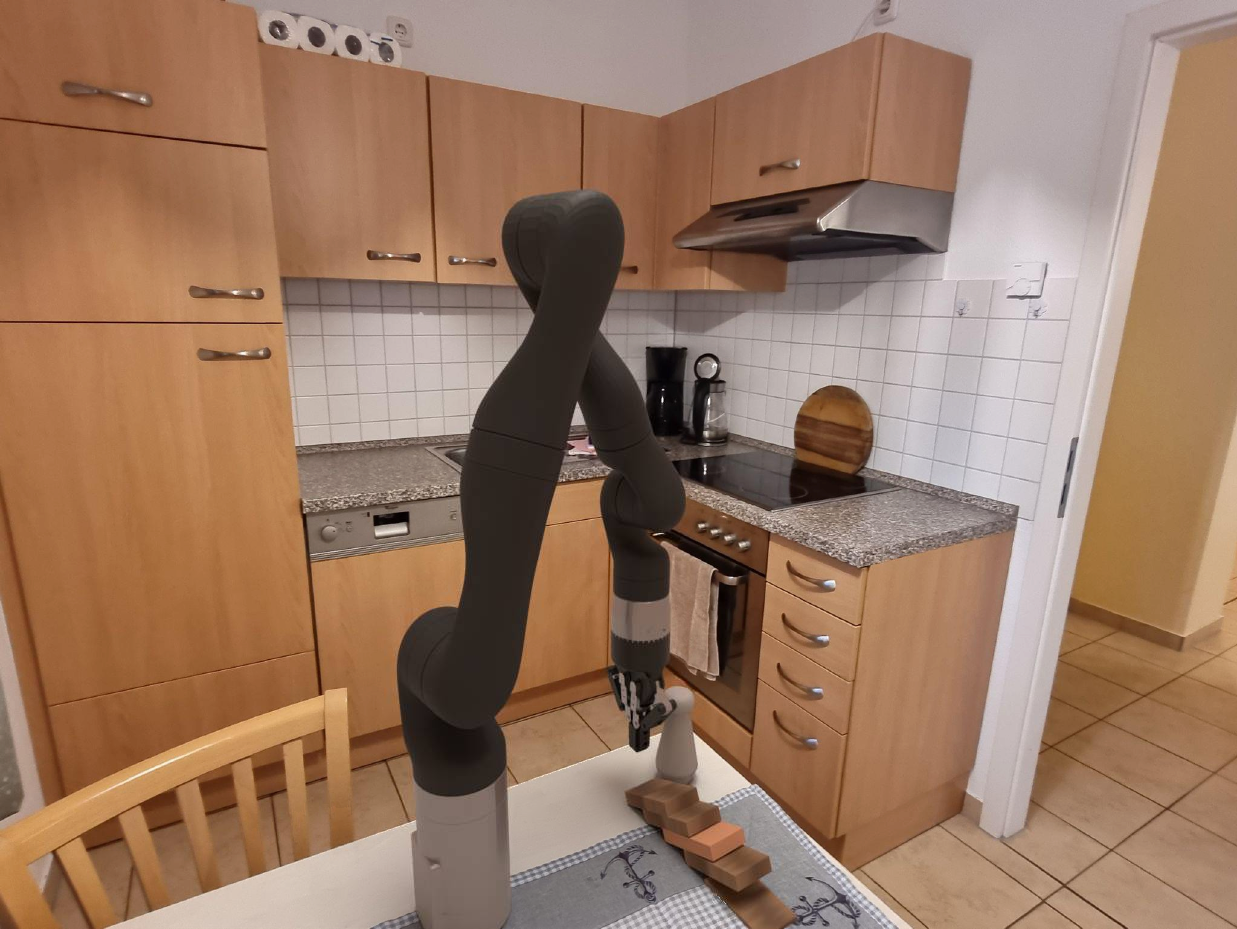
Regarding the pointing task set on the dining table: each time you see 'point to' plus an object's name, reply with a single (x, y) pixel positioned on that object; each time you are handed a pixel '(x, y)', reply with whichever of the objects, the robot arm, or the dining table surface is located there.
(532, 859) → the dining table surface
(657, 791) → the domino
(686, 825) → the domino
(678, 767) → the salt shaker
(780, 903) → the domino
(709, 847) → the domino
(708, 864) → the domino
